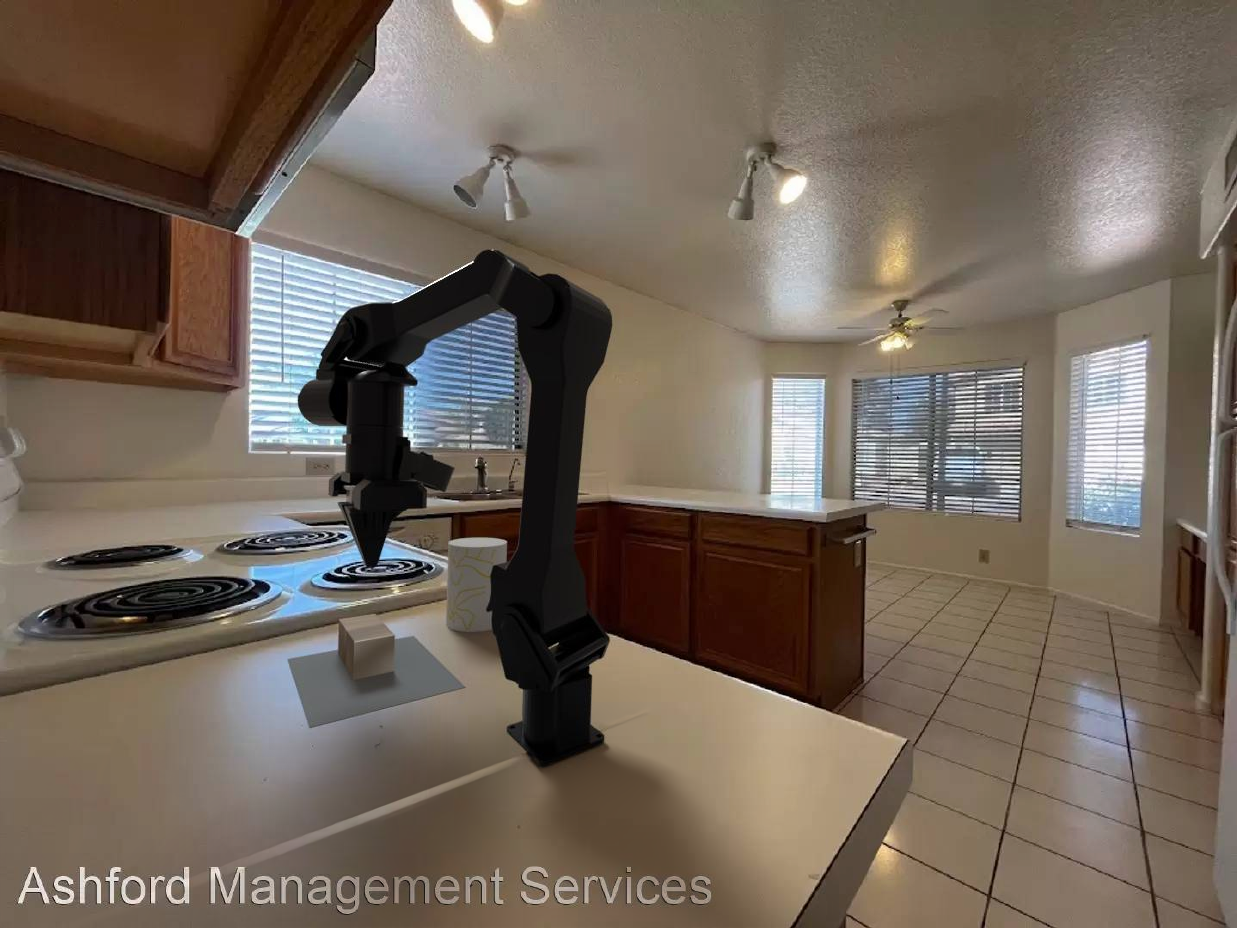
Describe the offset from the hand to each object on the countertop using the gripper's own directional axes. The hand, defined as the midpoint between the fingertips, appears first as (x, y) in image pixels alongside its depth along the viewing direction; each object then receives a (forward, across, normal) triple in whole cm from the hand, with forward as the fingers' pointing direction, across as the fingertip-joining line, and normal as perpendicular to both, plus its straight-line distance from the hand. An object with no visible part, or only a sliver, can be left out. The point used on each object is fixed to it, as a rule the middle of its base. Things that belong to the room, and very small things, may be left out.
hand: (371, 566), depth 57 cm
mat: (+12, -2, 0) cm, 12 cm away
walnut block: (+9, -3, 0) cm, 10 cm away
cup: (+12, +8, -16) cm, 22 cm away
